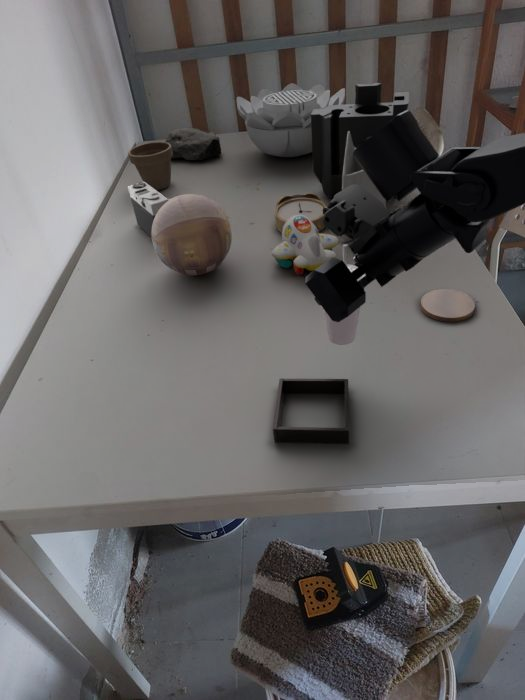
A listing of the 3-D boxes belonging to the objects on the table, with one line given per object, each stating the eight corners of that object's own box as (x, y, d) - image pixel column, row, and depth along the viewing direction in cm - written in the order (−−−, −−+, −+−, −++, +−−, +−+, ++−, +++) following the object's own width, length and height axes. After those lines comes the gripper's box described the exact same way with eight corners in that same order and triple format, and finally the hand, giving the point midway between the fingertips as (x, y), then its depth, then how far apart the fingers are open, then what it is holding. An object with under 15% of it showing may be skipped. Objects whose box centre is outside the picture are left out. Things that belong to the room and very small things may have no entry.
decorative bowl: (363, 158, 141) (365, 99, 131) (257, 178, 137) (251, 118, 128) (327, 129, 164) (326, 76, 154) (236, 145, 160) (229, 92, 151)
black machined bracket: (401, 199, 118) (409, 95, 104) (312, 199, 123) (308, 100, 109) (402, 179, 127) (410, 81, 113) (319, 180, 132) (316, 86, 118)
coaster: (469, 292, 87) (469, 288, 87) (479, 321, 81) (480, 317, 81) (417, 293, 89) (418, 289, 88) (423, 322, 82) (424, 318, 82)
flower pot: (130, 187, 141) (120, 149, 135) (166, 174, 146) (158, 138, 140) (149, 198, 134) (139, 159, 127) (186, 184, 138) (179, 146, 132)
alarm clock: (276, 227, 107) (271, 187, 117) (278, 246, 111) (273, 206, 121) (330, 221, 107) (321, 181, 116) (330, 240, 110) (321, 200, 120)
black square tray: (348, 392, 72) (348, 378, 70) (349, 444, 65) (349, 430, 63) (280, 391, 73) (279, 378, 72) (274, 442, 66) (272, 429, 64)
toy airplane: (284, 248, 88) (258, 211, 99) (285, 290, 94) (261, 250, 105) (355, 232, 91) (322, 197, 102) (352, 274, 97) (321, 236, 108)
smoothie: (361, 353, 68) (362, 259, 59) (313, 348, 70) (308, 256, 61) (368, 325, 73) (370, 234, 64) (323, 321, 75) (320, 232, 66)
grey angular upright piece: (381, 243, 103) (386, 144, 91) (341, 242, 105) (341, 145, 93) (386, 208, 115) (391, 117, 103) (351, 208, 117) (351, 118, 105)
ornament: (248, 255, 105) (239, 183, 96) (216, 295, 94) (202, 218, 85) (184, 248, 110) (169, 179, 101) (146, 285, 100) (126, 211, 90)
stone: (156, 157, 151) (157, 122, 150) (166, 165, 159) (167, 131, 158) (216, 158, 148) (218, 122, 147) (223, 166, 157) (225, 132, 156)
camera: (193, 235, 114) (184, 191, 108) (159, 247, 112) (148, 203, 105) (168, 215, 124) (159, 174, 118) (136, 225, 121) (125, 184, 115)
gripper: (416, 143, 59) (338, 213, 73) (315, 202, 49) (247, 271, 63) (472, 221, 60) (385, 277, 73) (383, 296, 50) (301, 345, 63)
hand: (332, 289), depth 68 cm, fingers closed on smoothie, 6 cm apart
